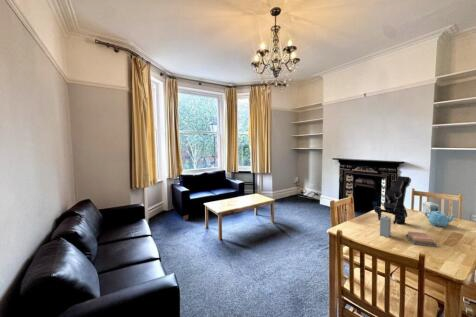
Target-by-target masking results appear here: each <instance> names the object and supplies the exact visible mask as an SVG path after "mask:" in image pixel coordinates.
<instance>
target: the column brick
mask: <svg viewBox="0 0 476 317" xmlns="http://www.w3.org/2000/svg"><path fill="white" fill-rule="evenodd" d="M391 225H392V217H391V216H386V215H381V217H380V221H379V236H382V237H385V238H389V237H390V236H391V227H392V226H391Z"/></svg>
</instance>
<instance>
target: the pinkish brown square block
mask: <svg viewBox="0 0 476 317" xmlns="http://www.w3.org/2000/svg"><path fill="white" fill-rule="evenodd" d="M404 235H405V236H404V237H406V239H408V240H409V242H411V243H412V244H413V245H418V246H426V247H434V248H435V247H437V244H436V242H435V240H434V239H433V237H432V236H430V235H428V234H427V232H418V231H416V232H415V231H407V233H406V234H404Z"/></svg>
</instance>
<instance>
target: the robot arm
mask: <svg viewBox="0 0 476 317" xmlns="http://www.w3.org/2000/svg"><path fill="white" fill-rule="evenodd" d="M411 181H412V179H411V178H410V176H404V175H403V176H402V175H400V176H399V175H398V176H397V177H396V181H395V183H394V185H393V187H391V188H389V189H388V190H386V191H385V192H384V195H385V197H386V199H387V202H385V201H384V202H383V208H384V209H382V207H381V206H377V205H375V206H374V207H373V211H374V212H375V213H376V214H377V218H378V221H379V222H380V217H382V213H387V214H391V215H393V216H394V219H393V220H392V222H393V225H395V224H398V225H406V224H407V222H406V218H408V212H407V209H406V208H407V207H406V206H405V199H406V192H407V188H408V187H409V186H410V184H411V183H412V182H411Z"/></svg>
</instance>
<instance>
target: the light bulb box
mask: <svg viewBox="0 0 476 317" xmlns="http://www.w3.org/2000/svg"><path fill="white" fill-rule="evenodd" d="M436 211H440V205H439V204H437V203H434V202H431V201H422V212H423V213H424V214H423V213H422V212H421V213H422V214H423V215H425V212H429V213H432V212H436ZM427 215H428V217H429V215H430V214H427Z"/></svg>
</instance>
